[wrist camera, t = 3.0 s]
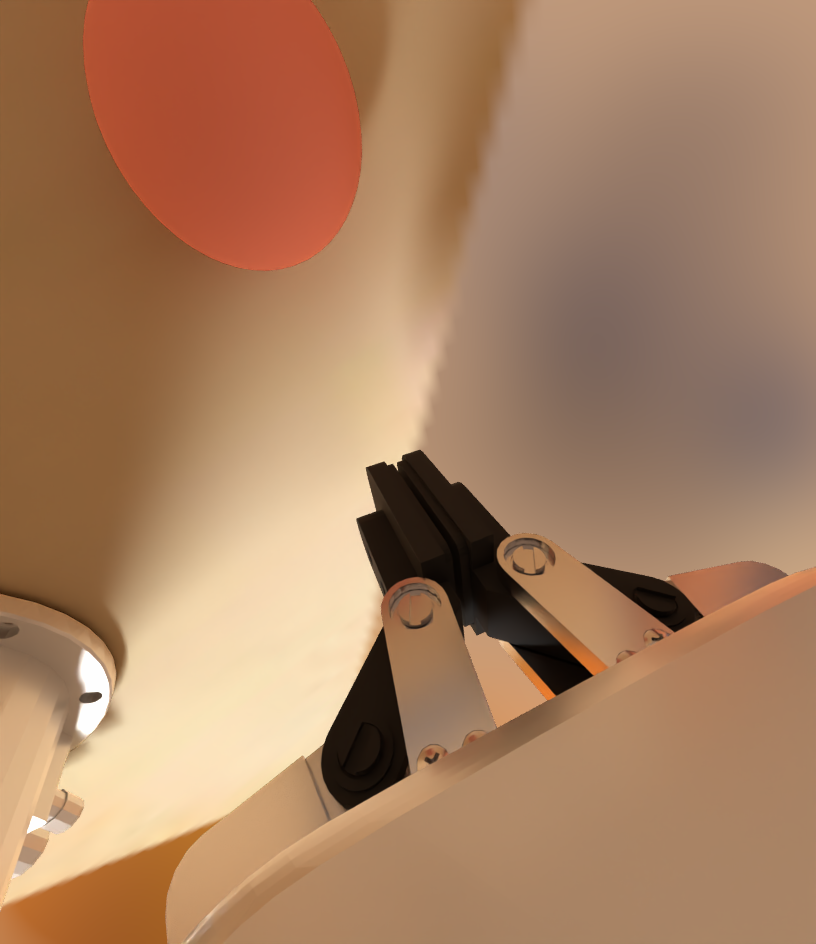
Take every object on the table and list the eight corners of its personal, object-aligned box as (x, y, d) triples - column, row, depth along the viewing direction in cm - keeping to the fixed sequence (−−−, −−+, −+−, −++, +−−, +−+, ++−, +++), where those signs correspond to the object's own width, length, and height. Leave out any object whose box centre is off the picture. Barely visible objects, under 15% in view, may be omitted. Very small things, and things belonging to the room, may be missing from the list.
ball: (350, 250, 14) (413, 250, 9) (183, 282, 13) (158, 301, 8) (302, 12, 11) (363, -176, 6) (67, 18, 9) (-100, -227, 5)
